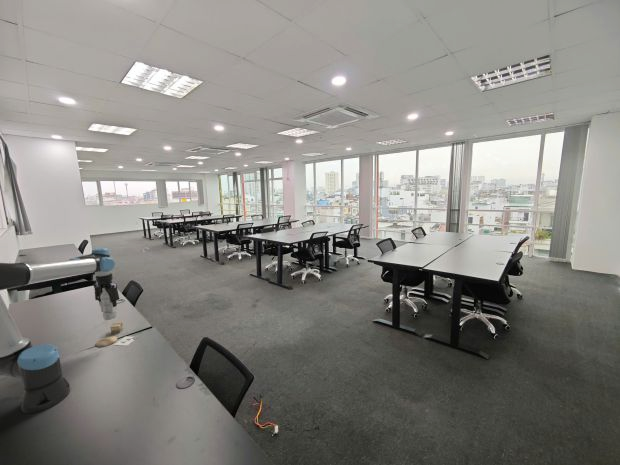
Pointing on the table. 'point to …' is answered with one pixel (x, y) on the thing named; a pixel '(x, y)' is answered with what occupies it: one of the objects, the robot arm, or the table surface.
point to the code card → (125, 341)
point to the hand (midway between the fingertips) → (109, 311)
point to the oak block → (117, 327)
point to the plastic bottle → (107, 306)
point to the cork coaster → (106, 341)
